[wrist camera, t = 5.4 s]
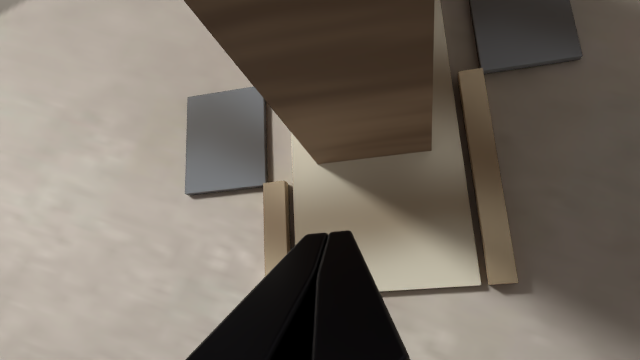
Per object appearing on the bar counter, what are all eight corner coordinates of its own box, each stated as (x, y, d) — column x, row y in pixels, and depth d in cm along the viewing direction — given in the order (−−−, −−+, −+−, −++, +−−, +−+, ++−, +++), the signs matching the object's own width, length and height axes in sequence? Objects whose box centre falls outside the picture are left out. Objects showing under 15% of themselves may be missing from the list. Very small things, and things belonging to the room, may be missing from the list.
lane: (630, 276, 17) (670, 271, 14) (185, 303, 21) (146, 303, 18) (530, -155, 22) (545, -221, 20) (194, -74, 26) (166, -119, 23)
